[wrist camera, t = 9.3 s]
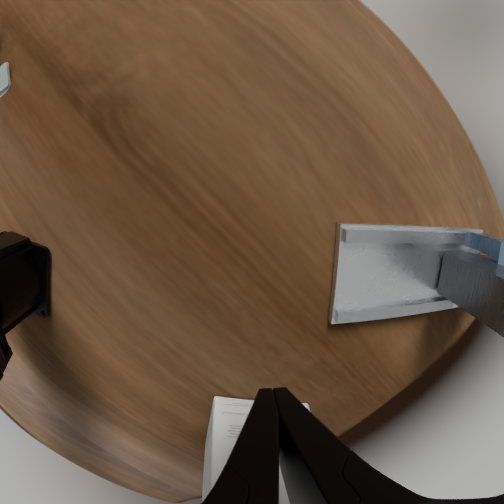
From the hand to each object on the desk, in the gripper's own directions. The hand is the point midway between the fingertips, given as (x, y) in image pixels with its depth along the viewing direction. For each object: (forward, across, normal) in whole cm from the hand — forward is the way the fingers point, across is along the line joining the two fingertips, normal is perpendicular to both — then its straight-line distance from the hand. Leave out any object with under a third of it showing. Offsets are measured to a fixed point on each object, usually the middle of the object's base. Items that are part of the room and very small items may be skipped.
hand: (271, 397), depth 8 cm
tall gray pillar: (+11, -19, 0) cm, 22 cm away
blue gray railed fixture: (+12, -14, 0) cm, 18 cm away
